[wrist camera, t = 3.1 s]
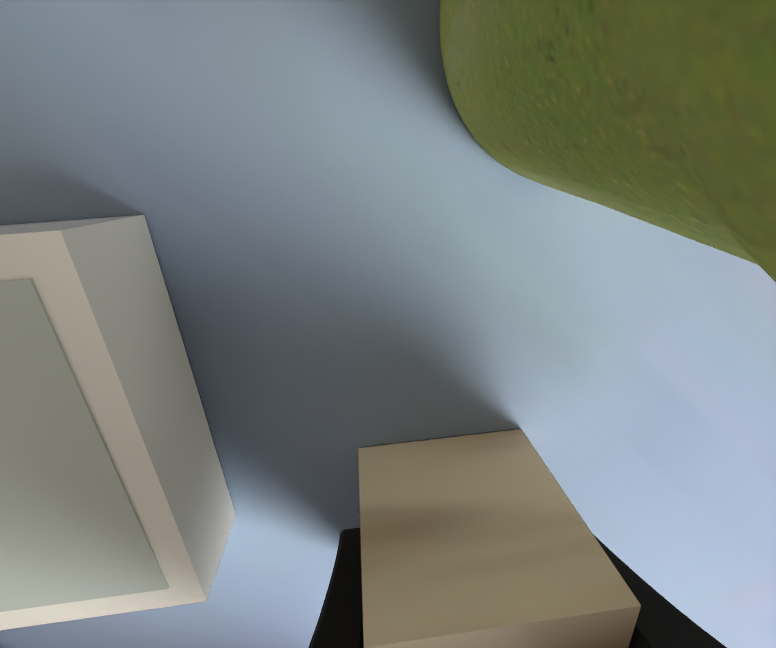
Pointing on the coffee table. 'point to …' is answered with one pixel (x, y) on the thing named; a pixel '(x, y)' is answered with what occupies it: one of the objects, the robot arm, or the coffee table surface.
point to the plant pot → (629, 106)
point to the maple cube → (481, 551)
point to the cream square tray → (99, 431)
